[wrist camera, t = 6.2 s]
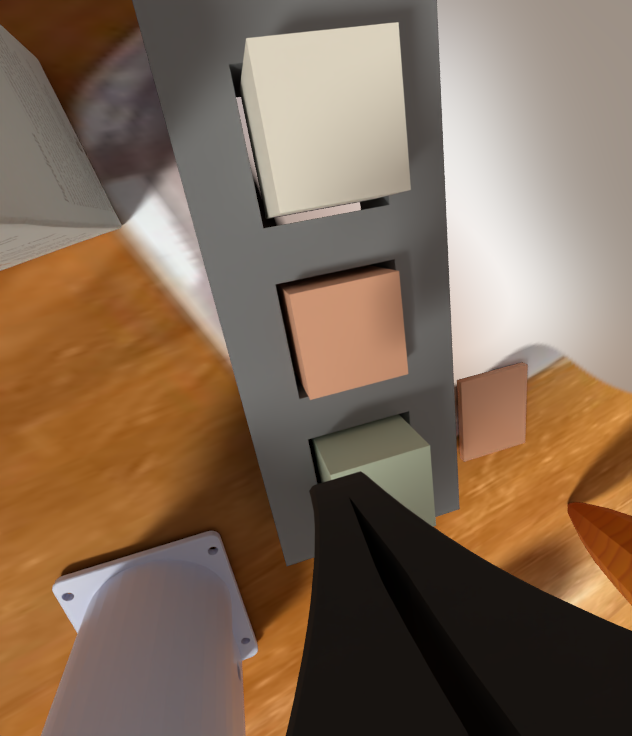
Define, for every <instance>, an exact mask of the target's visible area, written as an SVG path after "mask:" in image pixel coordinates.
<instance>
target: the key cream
mask: <svg viewBox="0 0 632 736" xmlns="http://www.w3.org/2000/svg"><path fill="white" fill-rule="evenodd" d="M240 94H241V99H242V104H243V109H244V114H245V119H246V123H247V128H248V133H249V138H250V142H251V148H252V152H253V157H254V162H255V167H256V172H257V177H258V182H259V186H260V191H261V196H262V201H263V206H264V211H265V215H266V219H269V218H274V217H280V216H285V215H291V214H296V213H301V212H307V211H313V210H318V209H324V208H329V207H334V206H340V205H345V204H350V203H356V202H362V201H367V200H372V199H376V198H380V197H384V196H388V195H392V194H396V193H400V192H404V191H408V190H411V184H410V171H409V157H408V144H407V131H406V117H405V104H404V90H403V77H402V63H401V50H400V37H399V23H398V22H396V23H386V24H377V25H367V26H358V27H348V28H339V29H329V30H320V31H310V32H301V33H291V34H282V35H272V36H263V37H253V38H246V43H245V51H244V59H243V66H242V74H241V82H240Z"/></svg>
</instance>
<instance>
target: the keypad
mask: <svg viewBox="0 0 632 736" xmlns="http://www.w3.org/2000/svg"><path fill="white" fill-rule="evenodd" d="M132 1H133V5H134V9H135V12H136V16H137V20H138V23H139V27H140V31H141V34H142V38H143V42H144V45H145V49H146V53H147V56H148V60H149V64H150V67H151V71H152V75H153V78H154V82H155V86H156V89H157V93H158V97H159V100H160V104H161V108H162V111H163V115H164V119H165V122H166V126H167V130H168V133H169V137H170V140H171V144H172V148H173V151H174V155H175V159H176V162H177V166H178V170H179V173H180V177H181V181H182V184H183V188H184V192H185V195H186V199H187V203H188V206H189V210H190V214H191V217H192V221H193V225H194V228H195V232H196V236H197V239H198V243H199V247H200V250H201V254H202V258H203V261H204V265H205V269H206V272H207V276H208V280H209V283H210V287H211V291H212V294H213V298H214V302H215V305H216V309H217V313H218V316H219V320H220V324H221V327H222V331H223V335H224V338H225V342H226V346H227V349H228V353H229V357H230V360H231V364H232V368H233V371H234V375H235V379H236V382H237V386H238V390H239V393H240V397H241V401H242V404H243V408H244V412H245V415H246V419H247V423H248V426H249V430H250V434H251V437H252V441H253V445H254V448H255V452H256V456H257V459H258V463H259V467H260V470H261V474H262V478H263V481H264V485H265V489H266V492H267V496H268V499H269V503H270V507H271V510H272V514H273V518H274V521H275V525H276V529H277V532H278V536H279V540H280V543H281V547H282V551H283V554H284V558H285V562H286V565H287V566H289V565H292V564H295V563H298V562H301V561H304V560H307V559H310V558H313V557H314V552H315V523H314V511H313V506H312V502H311V497H310V493H309V490H310V489H311V487H312V486H313V485H316V484H320V483H321V482H320V483H317V481H316V476H315V471H314V466H313V462H312V457H311V452H310V447H309V443H308V439H311V438H315V437H319V436H322V435H326V434H329V433H333V432H336V431H340V430H343V429H347V428H351V427H354V426H358V425H361V424H365V423H368V422H372V421H375V420H379V419H383V418H386V417H390V416H393V415H397V414H399V415H400V416H401V417H402V418H403V419H404V420H405V421H406V422H407V423H408V424H409V425H410V426H411V427H412V428H413V429H414V430H415V431H416V432H417V433H418V434H419V435H420V436H421V437H422V438H423V439H424V440H425V441H426V442H427V443H428V444H429V445H430V453H431V466H432V479H433V493H434V506H435V517H437V516H440V515H443V514H446V513H449V512H452V511H455V510H458V509H459V489H458V467H457V445H456V422H455V400H454V379H453V355H452V333H451V311H450V288H449V268H448V267H449V266H448V245H447V222H446V221H447V220H446V199H445V176H444V155H443V154H444V153H443V131H442V109H441V86H440V64H439V41H438V19H437V0H132ZM396 22H398V23H399V37H400V50H401V63H402V77H403V90H404V104H405V117H406V131H407V144H408V157H409V171H410V184H411V190H408V191H404V192H400V193H396V194H392V195H388V196H384V197H380V198H376V199H372V200H367V201H362V202H360V205H361V210H360V211H354V212H349V213H343V214H338V215H333V216H327V217H322V218H317V219H311V220H306V221H301V222H295V223H290V224H284V225H279V226H274V227H268V228H263V224H262V219H261V215H260V210H259V205H258V200H257V196H256V191H255V186H254V181H253V177H252V172H251V167H250V162H249V158H248V153H247V148H246V144H245V139H244V135H243V129H242V125H241V120H240V115H239V111H238V106H237V101H236V97H241V94H240V82H241V74H242V66H243V59H244V51H245V43H246V38H253V37H263V36H272V35H282V34H291V33H301V32H310V31H320V30H329V29H339V28H348V27H358V26H367V25H377V24H386V23H396ZM365 265H371V266H376V267H381V268H386V269H391V270H397V271H399V276H400V287H401V298H402V309H403V320H404V331H405V342H406V353H407V364H408V374H407V375H403V376H399V377H395V378H392V379H388V380H384V381H380V382H376V383H373V384H369V385H365V386H361V387H358V388H354V389H350V390H346V391H342V392H339V393H335V394H331V395H327V396H323V397H320V398H316V399H312V400H310V398H309V397H308V395H307V393H306V391H305V389H304V387H303V386H302V384H301V382H300V380H299V378H298V376H297V375H296V373H295V372H294V371H293V367H292V362H291V357H290V352H289V348H288V343H287V338H286V333H285V329H284V324H283V319H282V314H281V310H280V305H279V300H278V295H277V291H276V286H275V284H280V283H284V282H289V281H294V280H299V279H303V278H308V277H313V276H318V275H322V274H327V273H332V272H336V271H341V270H346V269H351V268H355V267H360V266H365Z"/></svg>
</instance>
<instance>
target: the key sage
mask: <svg viewBox="0 0 632 736" xmlns="http://www.w3.org/2000/svg"><path fill="white" fill-rule="evenodd" d="M312 443H313V448H314V453H315V458H316V463H317V468H318V472H319V477H320V482H321V483H323V482H326V481H330V480H333V479H336V478H340V477H343V476H346V475H350V474H353V473H356V472H359V471H361V472H363V473H364V474H366V475H367V476H368V477H369V478H370V479H372V480H373V481H374V482H375V483H376V484H377V485H379V486H380V487H381V488H382V489H384V490H385V491H386V492H387V493H388V494H390V495H391V496H392V497H393V498H395V499H396V500H397V501H399V502H400V503H401V504H402V505H404V506H405V507H406V508H408V509H409V510H410V511H412V512H413V513H415V514H416V515H417V516H419V517H420V518H421V519H423V520H424V521H426V522H427V523H428V524H430V525H431V526H436V520H435V506H434V493H433V479H432V466H431V453H430V445H429V444H428V443H427V442H426V441H425V440H424V439H423V438H422V437H421V436H420V435H419V434H418V433H417V432H416V431H415V430H414V429H413V428H412V427H411V426H410V425H409V424H408V423H407V422H406V421H405V420H404V419H403V418H402V417H401V416H400V415H399V414H397V415H393V416H390V417H386V418H383V419H379V420H375V421H372V422H368V423H365V424H361V425H358V426H354V427H351V428H347V429H343V430H340V431H336V432H333V433H329V434H326V435H322V436H319V437H315V438H312Z"/></svg>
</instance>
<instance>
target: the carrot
mask: <svg viewBox="0 0 632 736" xmlns="http://www.w3.org/2000/svg"><path fill="white" fill-rule="evenodd" d="M568 514H569V517H570V519H571V521H572V523H573V525H574V527H575V529H576V531H577V533H578V535H579V537H580V539H581V541H582V542H583V544H584V545H585V547H586V549H587V550H588V552H589V553H590V555H591V557H592V558H593V560H594V561H595V563H596V564H597V565H598V566H599V567H600V569H601V570H602V571H603V572H604V574H605V575H606V576H607V577H608V579H609V580H610V581H611V582H612V583H613V585H614V586H615V587H616V588H617V589H618V590H619V592H620V593H621V594H622V595H623V596H624V597H625V598H626V600H627V601H628V602H629V603H630V604H631V605H632V516H630V515H627V514H624V513H621V512H618V511H615V510H612V509H608V508H604V507H600V506H595V505H591V504H586V503H581V502H574V503H569V504H568Z"/></svg>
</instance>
